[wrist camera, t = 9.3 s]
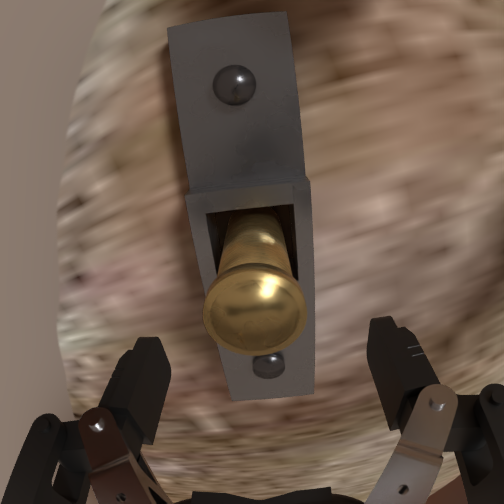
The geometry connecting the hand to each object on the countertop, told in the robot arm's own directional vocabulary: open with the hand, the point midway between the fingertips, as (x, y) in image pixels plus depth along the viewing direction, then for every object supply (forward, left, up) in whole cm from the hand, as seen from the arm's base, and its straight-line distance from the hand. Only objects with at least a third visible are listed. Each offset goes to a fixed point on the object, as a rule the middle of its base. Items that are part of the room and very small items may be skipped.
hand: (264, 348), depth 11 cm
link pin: (0, 0, -11) cm, 11 cm away
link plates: (0, 0, -11) cm, 11 cm away
